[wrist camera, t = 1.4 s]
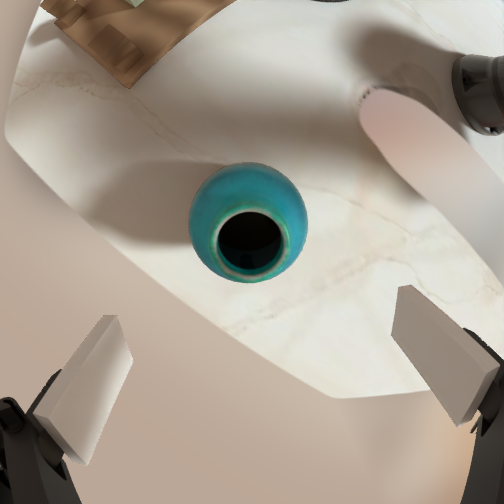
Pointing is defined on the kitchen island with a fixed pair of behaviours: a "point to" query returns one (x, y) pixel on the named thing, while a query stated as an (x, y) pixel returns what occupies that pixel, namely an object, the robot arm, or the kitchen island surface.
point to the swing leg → (134, 2)
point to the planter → (332, 0)
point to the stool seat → (130, 29)
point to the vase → (248, 222)
